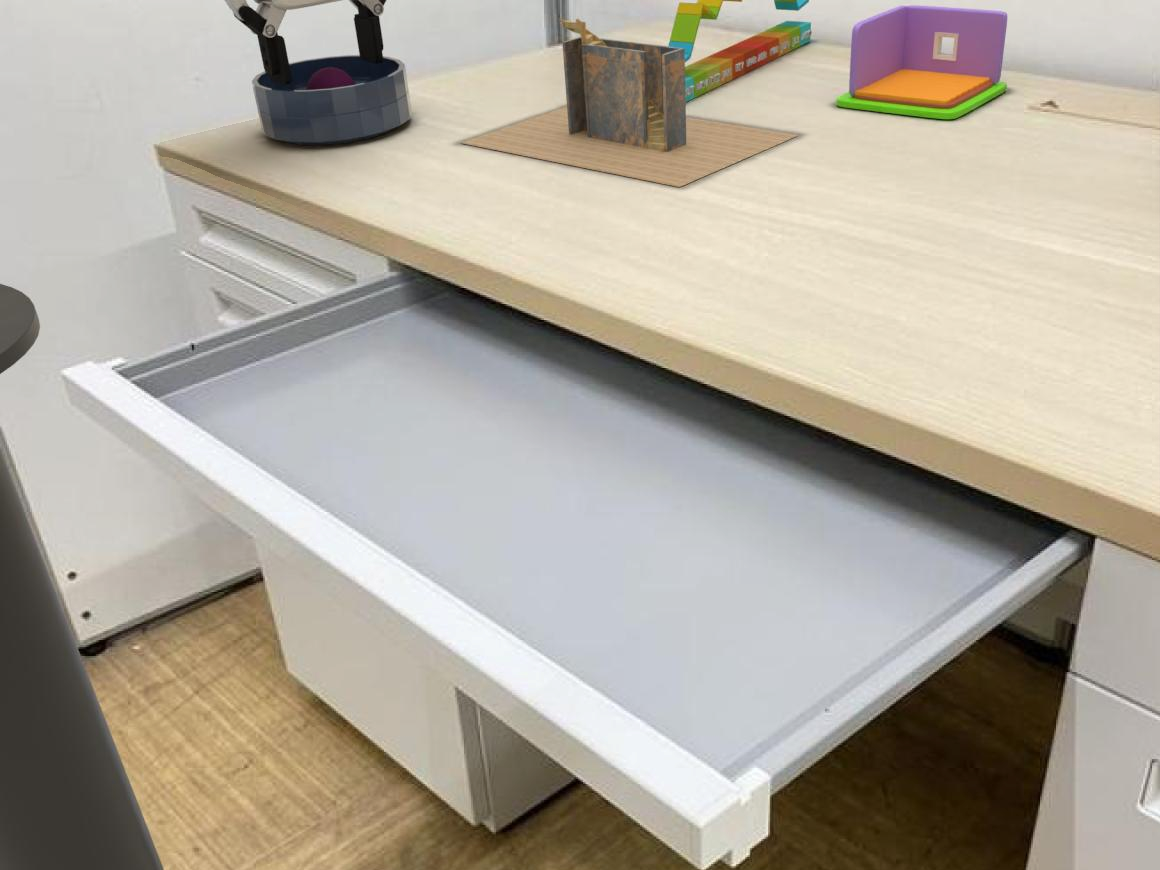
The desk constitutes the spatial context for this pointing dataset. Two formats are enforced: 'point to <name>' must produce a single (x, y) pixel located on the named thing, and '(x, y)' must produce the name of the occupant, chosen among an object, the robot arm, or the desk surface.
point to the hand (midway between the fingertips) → (327, 71)
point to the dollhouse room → (926, 61)
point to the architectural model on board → (628, 117)
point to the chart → (737, 56)
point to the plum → (329, 79)
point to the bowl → (334, 102)
